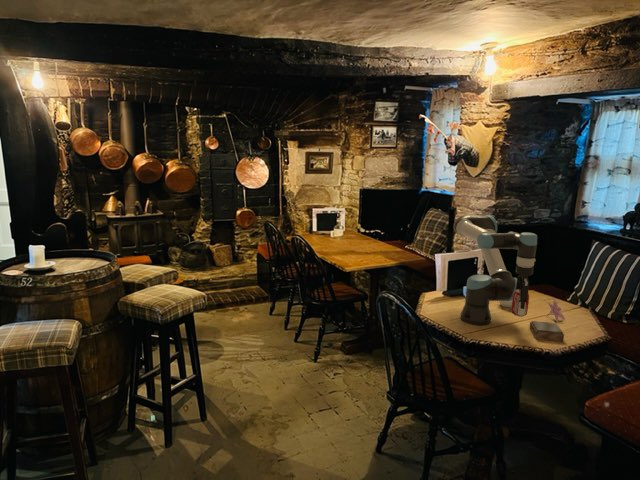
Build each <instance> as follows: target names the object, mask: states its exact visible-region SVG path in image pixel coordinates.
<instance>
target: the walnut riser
mask: <svg viewBox="0 0 640 480" xmlns="http://www.w3.org/2000/svg"><path fill="white" fill-rule="evenodd" d="M528 329H529V331H530V332H531V334H532V336H533V338H534V339H535V340H542V341H543V340H544V341H555V342H564V340H565V334H564V332H563V330H562V329H561V328H560V326H559V325H558V324H557V322H547V321H536V320H531V321H530V322H529V328H528Z"/></svg>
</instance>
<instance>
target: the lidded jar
mask: <svg viewBox="0 0 640 480" xmlns="http://www.w3.org/2000/svg"><path fill="white" fill-rule="evenodd" d="M512 301H513V300H510V301H498V302H499V304H500V305H501V306H502V307H504V308H512Z"/></svg>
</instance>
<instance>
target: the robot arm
mask: <svg viewBox="0 0 640 480" xmlns="http://www.w3.org/2000/svg"><path fill="white" fill-rule="evenodd" d="M453 230H454V232H455V233H456V234H457V235H458V236H460V237H466V238H468V239H470V240H472V241H474V242H476V243H477V246H478V248H480V250H481V253H482V256H483V260H484V262H485V264H486V267H487V271H488V273H489V275H488V274H473V275H471V276H469V277H468V278H467V280H466V281H467V282H466V289H465V290H466V291H465V300H464V305H463V308H462V310H461V312H460V315H459V316H460V317H459V318H460V320H461V321H463V322H464V323H467V324H470V325H475V326H476V325H477V326H486V325H489V324H491V323H492V316H491V315H492V314H491V310H490V302H499V301H510V300H513V294H514V292H515V290H516V289H521V291H520V301H519V308H518V315H524V313H525V305H526V302H527V300H528V294H529V289H530V281H529V280H530V279H529V276H532V275H533V274H534V266H535V262H536V261H537V260H536V252H537V247H538V246H537V245H538V235H537V234H536V233H533V232H527V231H526V232H521V233H519V232H516V231H508V232H504V233H503V232H501V233H500V232H499V233H498V223H497V220H496V218H495V217H493V216H492V215H487V214H481V215H479V214H477V215H476V214H475V215H474V214H465V215H462V216H459V217H457V219H455V220H454V223H453ZM500 249H503V250H505V249H506V250H510V249H511V250H512V249H513V250H517V256H516V261H515V262H516V265H515V271H514V272H515V273H516V274H517V277H513V276H512V273H511V272H510V271H509V270H507V268H506V265H505V263H504V260H503V257H502V255H501V252H500Z"/></svg>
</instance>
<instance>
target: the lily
mask: <svg viewBox="0 0 640 480" xmlns="http://www.w3.org/2000/svg"><path fill="white" fill-rule="evenodd" d="M547 305H548V306H549V307H550V311H549V312H548V314H547V315H545V317H548V316H549V315H551V316H554V318H555V320H556V323H559V319H561V320H563V321H566V318H565V316H564V315H563V312H562V307H560V306H559V304H558V301H557V300H556V298H554V299H553V302H552V303H551V302H547Z"/></svg>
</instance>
